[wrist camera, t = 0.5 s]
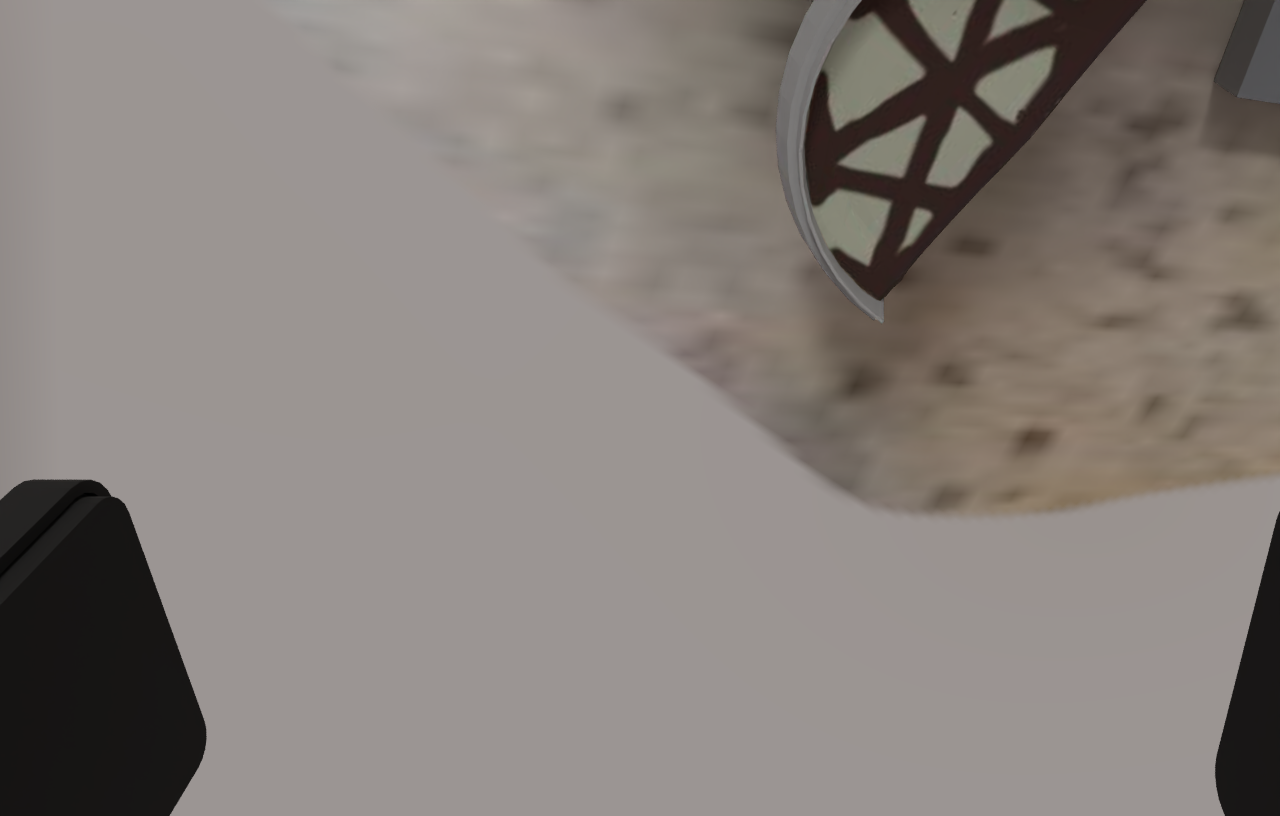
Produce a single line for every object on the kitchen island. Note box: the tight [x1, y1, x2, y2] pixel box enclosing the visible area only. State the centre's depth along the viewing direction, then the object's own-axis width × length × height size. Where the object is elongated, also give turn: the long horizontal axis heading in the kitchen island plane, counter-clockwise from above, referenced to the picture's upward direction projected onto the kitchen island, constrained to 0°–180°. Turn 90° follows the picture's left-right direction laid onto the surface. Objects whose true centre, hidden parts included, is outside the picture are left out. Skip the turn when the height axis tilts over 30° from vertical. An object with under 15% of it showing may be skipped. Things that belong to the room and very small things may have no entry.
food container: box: [776, 0, 1146, 323], centre depth 30 cm, size 12×6×10 cm, turn 146°
